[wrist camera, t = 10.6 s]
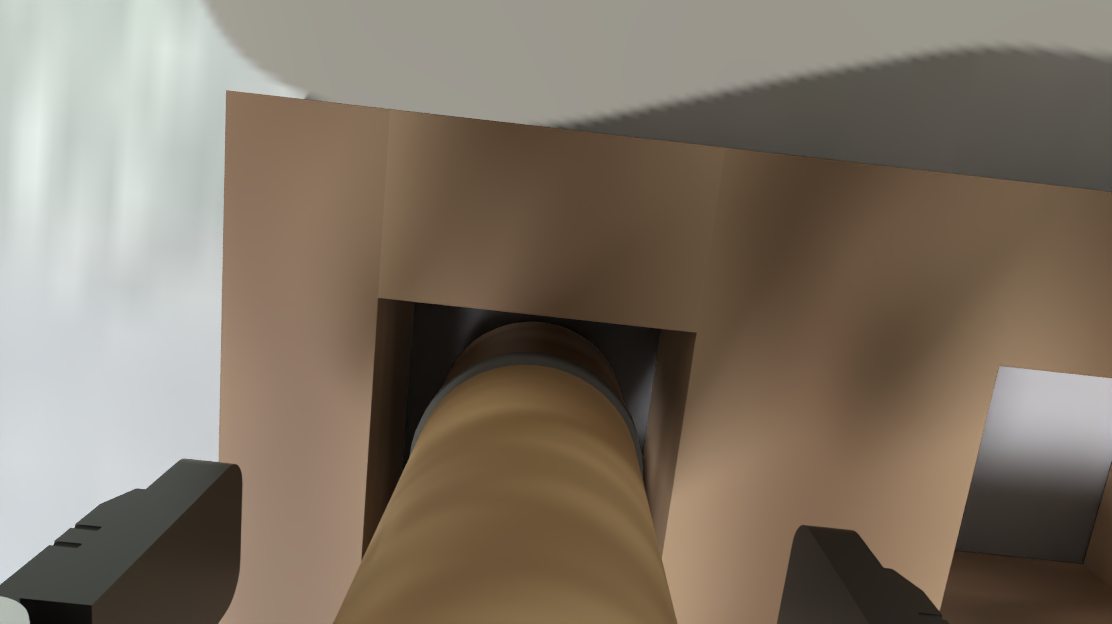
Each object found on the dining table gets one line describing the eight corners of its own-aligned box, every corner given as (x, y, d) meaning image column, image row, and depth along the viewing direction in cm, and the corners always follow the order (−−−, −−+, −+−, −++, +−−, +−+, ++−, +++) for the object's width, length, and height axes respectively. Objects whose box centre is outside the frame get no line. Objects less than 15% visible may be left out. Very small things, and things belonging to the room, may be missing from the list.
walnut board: (1306, 215, 17) (1521, 238, 14) (1155, 689, 20) (1300, 823, 16) (302, 100, 17) (225, 90, 13) (282, 601, 20) (213, 717, 16)
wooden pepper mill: (635, 318, 18) (777, 659, 6) (611, 489, 19) (696, 1063, 7) (450, 296, 18) (247, 604, 6) (435, 469, 19) (232, 1021, 7)
